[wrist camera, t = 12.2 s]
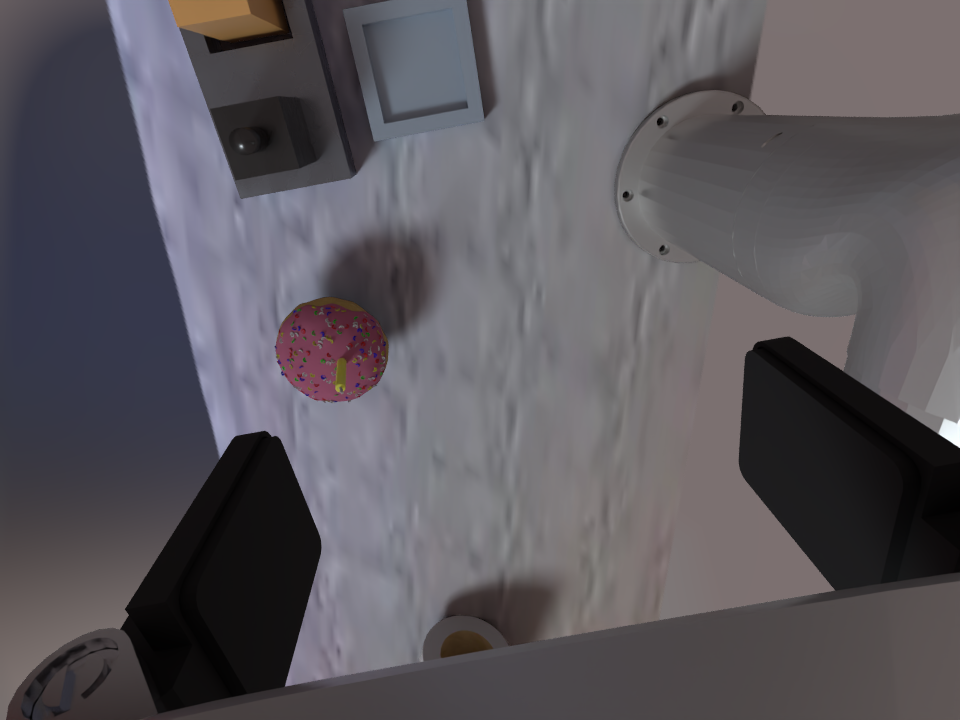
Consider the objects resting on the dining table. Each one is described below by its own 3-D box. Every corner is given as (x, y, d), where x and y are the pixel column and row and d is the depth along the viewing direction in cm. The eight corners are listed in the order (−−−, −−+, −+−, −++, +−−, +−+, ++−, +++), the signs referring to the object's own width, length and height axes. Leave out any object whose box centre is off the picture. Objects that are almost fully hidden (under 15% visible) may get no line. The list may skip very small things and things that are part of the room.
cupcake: (374, 270, 43) (351, 325, 32) (406, 360, 46) (395, 437, 35) (274, 297, 43) (217, 360, 32) (314, 385, 47) (275, 468, 36)
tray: (463, -11, 35) (464, -14, 34) (483, 120, 38) (484, 120, 37) (345, 12, 35) (342, 9, 34) (375, 140, 38) (374, 141, 37)
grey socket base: (159, -71, 32) (52, -139, 23) (286, -96, 32) (227, -174, 23) (252, 193, 39) (196, 218, 30) (356, 174, 39) (331, 193, 30)
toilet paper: (487, 674, 66) (495, 764, 57) (408, 667, 64) (403, 758, 55) (507, 620, 62) (519, 707, 53) (424, 611, 60) (421, 699, 51)
